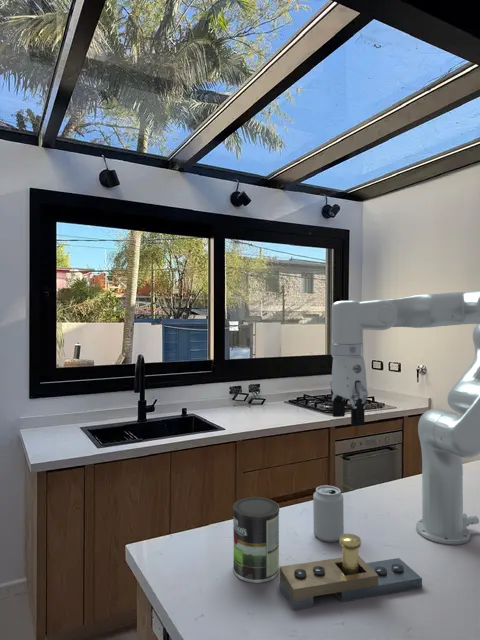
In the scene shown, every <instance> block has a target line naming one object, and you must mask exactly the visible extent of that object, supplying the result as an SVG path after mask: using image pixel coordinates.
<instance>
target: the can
mask: <svg viewBox="0 0 480 640" xmlns="http://www.w3.org/2000/svg"><path fill="white" fill-rule="evenodd" d="M341 491H342V490H341V488H338V487H336V486H333V485H327V484H326V485H320V486H317V487H316V488H315V492H313V497H312V498H313V500H312V504H313V506H312V507H313V511H312V513H313V514H312V515H313V534H314V536H315V537H317V538H318V539H319V540H320V541H323V542H330V543H334V542H337V541H340V536H341V535H342V534H345V533H344V530H345V529H344V528H345V527H344V495H343V494H342V492H341Z"/></svg>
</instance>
